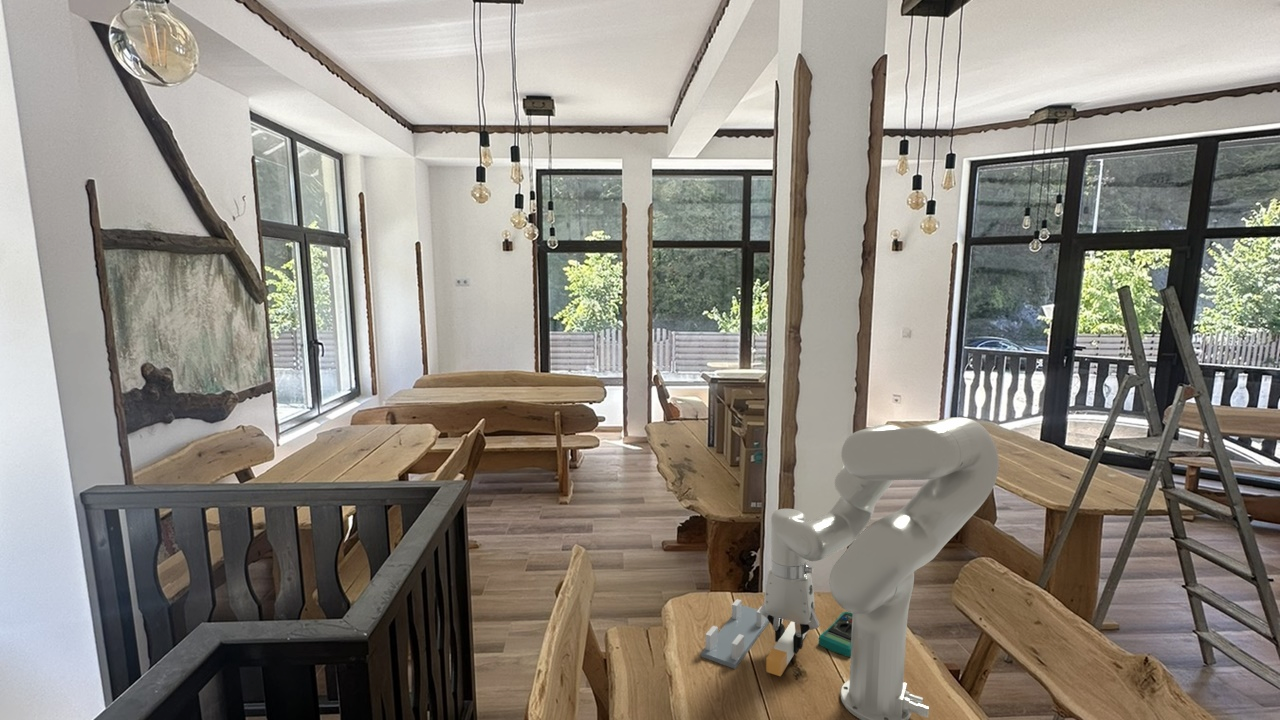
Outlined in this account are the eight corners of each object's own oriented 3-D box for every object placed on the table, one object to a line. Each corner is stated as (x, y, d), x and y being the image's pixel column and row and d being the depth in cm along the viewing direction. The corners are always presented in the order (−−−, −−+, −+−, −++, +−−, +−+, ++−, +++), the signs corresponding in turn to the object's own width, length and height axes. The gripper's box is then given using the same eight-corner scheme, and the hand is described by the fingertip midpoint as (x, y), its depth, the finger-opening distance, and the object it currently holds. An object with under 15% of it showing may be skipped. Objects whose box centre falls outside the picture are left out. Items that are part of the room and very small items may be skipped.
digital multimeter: (874, 630, 137) (874, 619, 137) (849, 660, 126) (849, 647, 126) (843, 619, 142) (844, 608, 142) (817, 647, 131) (817, 634, 131)
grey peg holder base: (772, 617, 142) (772, 600, 142) (735, 669, 123) (735, 649, 122) (741, 608, 146) (742, 591, 146) (701, 656, 127) (701, 637, 126)
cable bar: (808, 629, 136) (808, 617, 135) (780, 676, 119) (780, 662, 118) (796, 626, 137) (796, 614, 137) (766, 671, 120) (766, 658, 120)
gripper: (831, 568, 125) (831, 650, 127) (759, 553, 134) (759, 629, 135) (822, 583, 119) (821, 668, 120) (746, 565, 127) (747, 645, 129)
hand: (788, 647), depth 128 cm, fingers closed on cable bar, 3 cm apart
